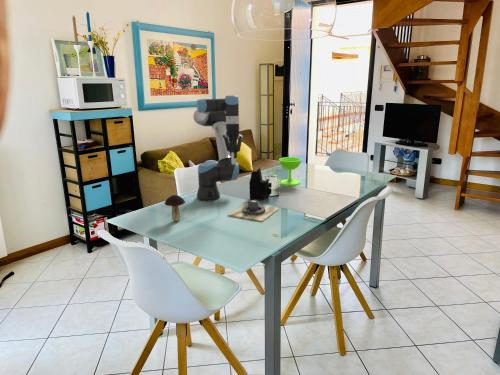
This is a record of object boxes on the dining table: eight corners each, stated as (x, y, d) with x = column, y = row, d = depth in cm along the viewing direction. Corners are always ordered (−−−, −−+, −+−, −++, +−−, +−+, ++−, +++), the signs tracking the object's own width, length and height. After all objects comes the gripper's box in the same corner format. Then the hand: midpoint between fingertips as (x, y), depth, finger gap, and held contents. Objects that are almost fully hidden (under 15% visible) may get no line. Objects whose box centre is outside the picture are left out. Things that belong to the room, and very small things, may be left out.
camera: (270, 201, 226) (269, 170, 220) (249, 200, 228) (248, 169, 223) (272, 196, 235) (272, 166, 229) (252, 195, 238) (251, 166, 232)
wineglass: (302, 185, 258) (302, 161, 253) (279, 186, 258) (279, 161, 253) (299, 180, 273) (299, 156, 268) (278, 180, 273) (278, 157, 268)
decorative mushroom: (177, 216, 204) (175, 191, 199) (190, 220, 197) (188, 194, 193) (162, 222, 195) (159, 195, 191) (175, 226, 189) (172, 199, 184)
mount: (227, 215, 203) (227, 212, 202) (246, 204, 221) (246, 200, 221) (262, 222, 193) (262, 218, 192) (279, 209, 211) (279, 205, 210)
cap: (246, 212, 205) (246, 202, 203) (251, 209, 210) (251, 199, 209) (255, 213, 202) (255, 203, 201) (260, 210, 208) (260, 200, 206)
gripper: (219, 123, 205) (221, 163, 212) (239, 124, 199) (240, 165, 206) (226, 122, 211) (227, 161, 218) (245, 122, 205) (246, 163, 212)
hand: (233, 163), depth 212 cm, fingers closed
